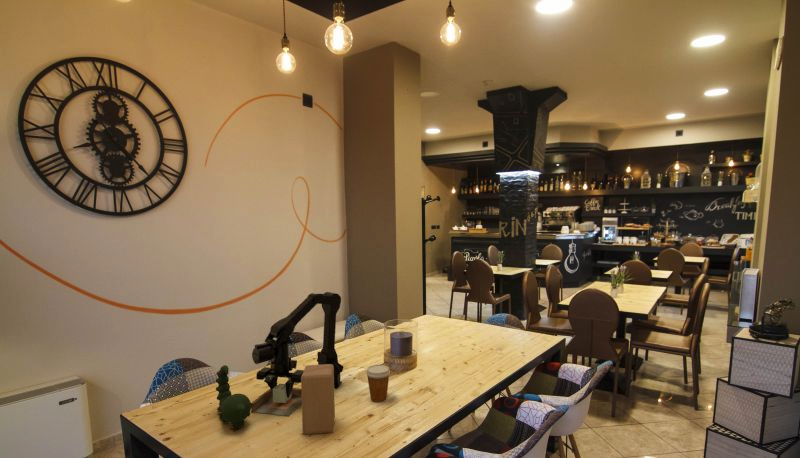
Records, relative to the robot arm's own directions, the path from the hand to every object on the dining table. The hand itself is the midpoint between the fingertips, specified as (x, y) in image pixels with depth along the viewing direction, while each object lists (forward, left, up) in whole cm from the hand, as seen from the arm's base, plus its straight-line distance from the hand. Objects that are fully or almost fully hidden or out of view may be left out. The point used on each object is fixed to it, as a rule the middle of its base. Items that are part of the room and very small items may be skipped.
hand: (282, 396), depth 153 cm
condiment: (+20, -28, -3) cm, 35 cm away
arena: (0, +1, -3) cm, 3 cm away
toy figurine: (+11, +15, -3) cm, 19 cm away
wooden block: (-21, +12, -3) cm, 24 cm away
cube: (0, 0, -1) cm, 1 cm away
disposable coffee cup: (-35, -12, -3) cm, 37 cm away
